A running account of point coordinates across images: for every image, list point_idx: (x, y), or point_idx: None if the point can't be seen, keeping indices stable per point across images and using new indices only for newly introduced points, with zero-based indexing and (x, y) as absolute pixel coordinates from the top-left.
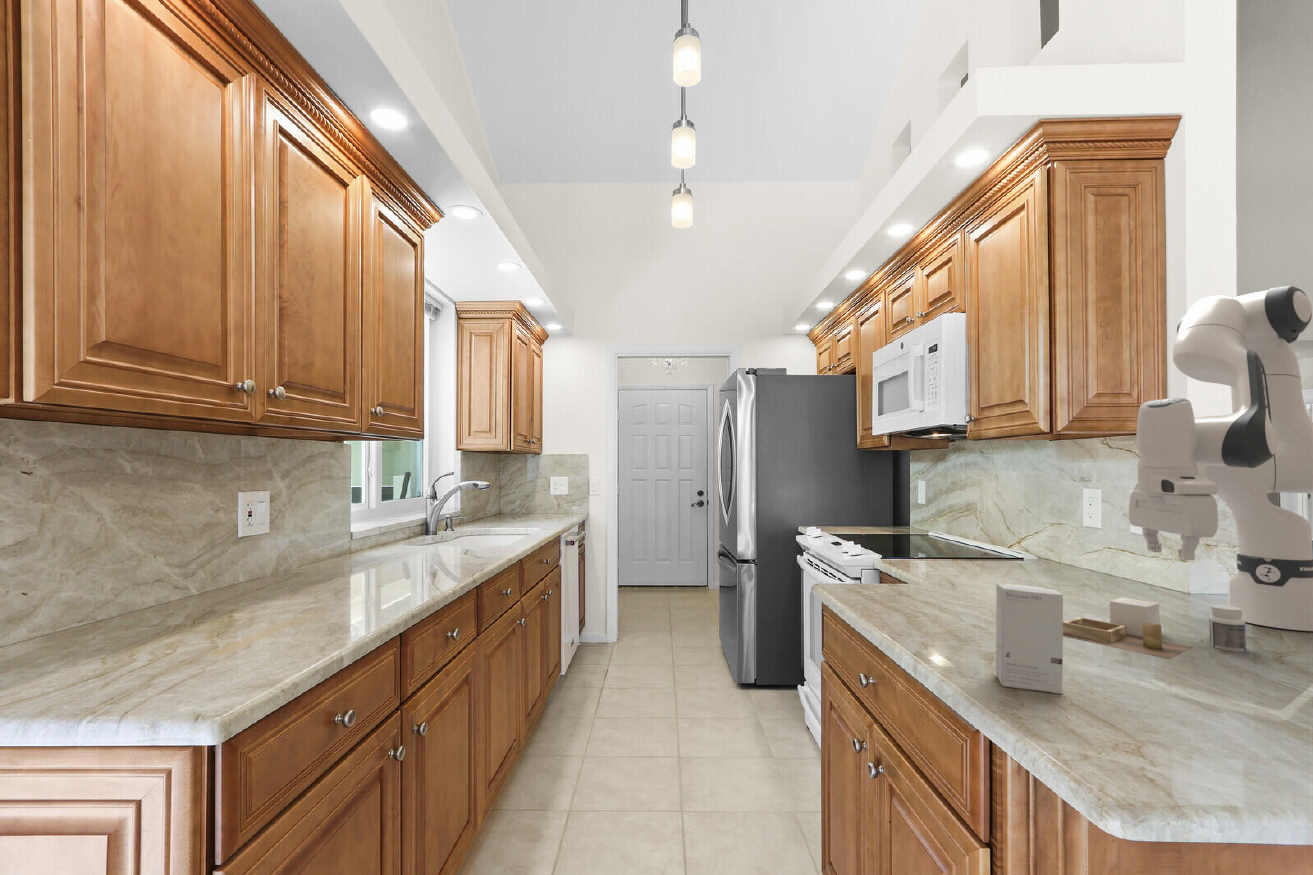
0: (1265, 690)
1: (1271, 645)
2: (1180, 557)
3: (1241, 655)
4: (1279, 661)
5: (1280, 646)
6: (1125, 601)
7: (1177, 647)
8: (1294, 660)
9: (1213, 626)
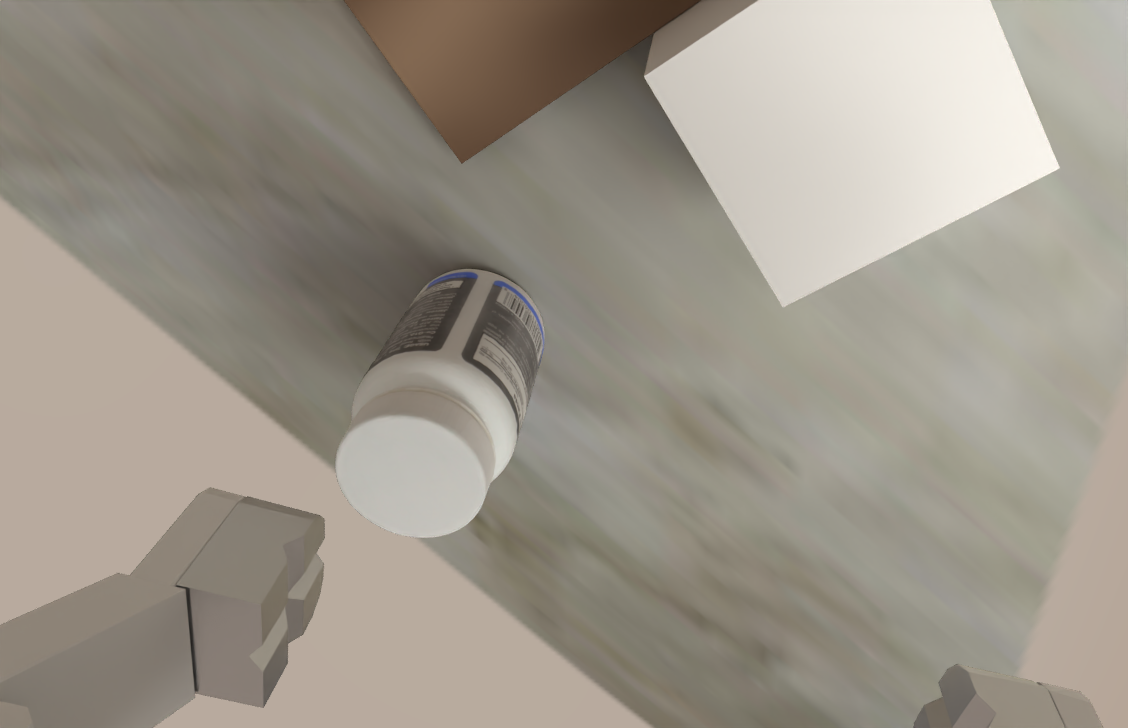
0: None
1: (635, 620)
2: (267, 506)
3: None
4: None
5: (620, 637)
6: (888, 51)
7: (444, 56)
8: None
9: (438, 335)
